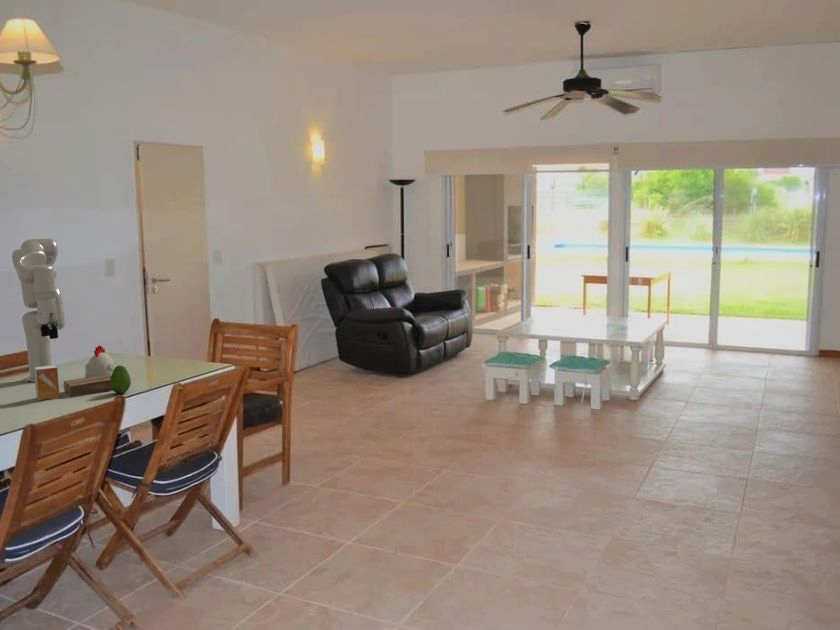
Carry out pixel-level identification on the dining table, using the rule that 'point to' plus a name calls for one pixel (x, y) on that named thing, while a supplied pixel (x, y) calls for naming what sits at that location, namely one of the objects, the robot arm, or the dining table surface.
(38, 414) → the dining table surface
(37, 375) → the small box
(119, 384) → the fruit
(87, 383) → the walnut riser block
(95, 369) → the white chicken figurine
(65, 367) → the dining table surface
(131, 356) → the dining table surface
